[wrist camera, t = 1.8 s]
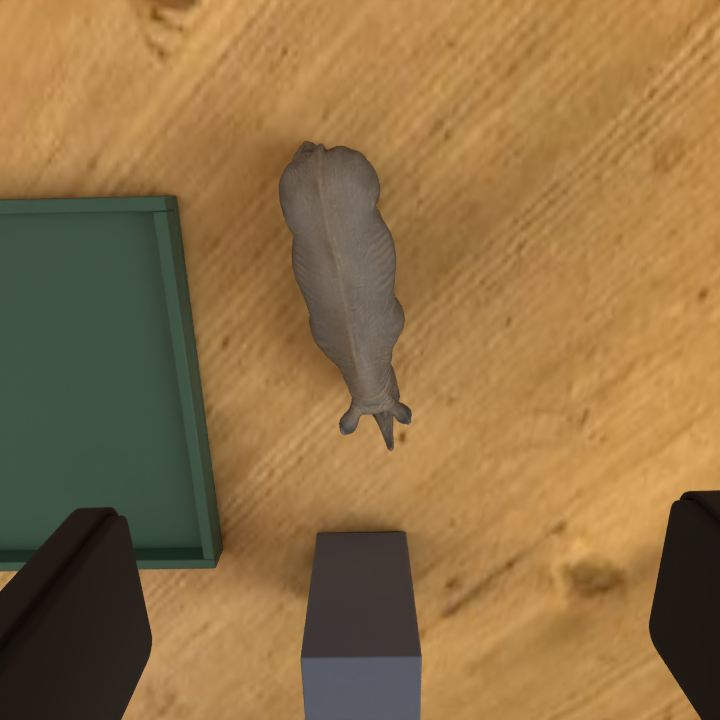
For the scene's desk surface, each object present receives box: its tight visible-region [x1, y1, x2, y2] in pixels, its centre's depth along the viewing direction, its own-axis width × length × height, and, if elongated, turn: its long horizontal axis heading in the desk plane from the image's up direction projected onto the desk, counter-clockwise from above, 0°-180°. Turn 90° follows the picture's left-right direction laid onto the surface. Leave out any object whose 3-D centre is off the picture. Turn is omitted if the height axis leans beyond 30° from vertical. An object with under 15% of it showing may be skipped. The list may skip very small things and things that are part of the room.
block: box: [301, 532, 422, 720], centre depth 25 cm, size 5×5×8 cm
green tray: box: [0, 196, 223, 571], centre depth 25 cm, size 19×15×2 cm
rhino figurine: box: [279, 141, 412, 451], centre depth 21 cm, size 4×14×6 cm, turn 12°
